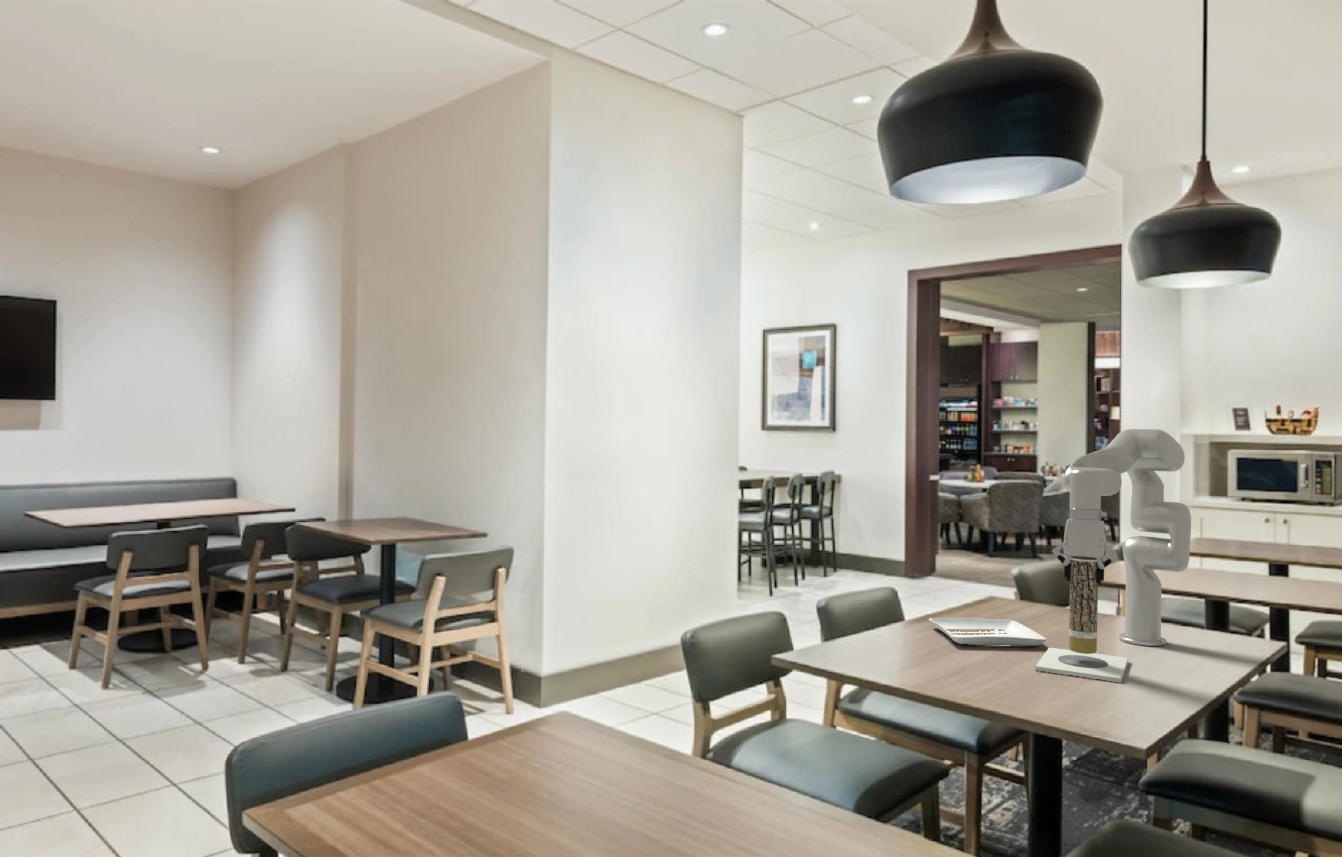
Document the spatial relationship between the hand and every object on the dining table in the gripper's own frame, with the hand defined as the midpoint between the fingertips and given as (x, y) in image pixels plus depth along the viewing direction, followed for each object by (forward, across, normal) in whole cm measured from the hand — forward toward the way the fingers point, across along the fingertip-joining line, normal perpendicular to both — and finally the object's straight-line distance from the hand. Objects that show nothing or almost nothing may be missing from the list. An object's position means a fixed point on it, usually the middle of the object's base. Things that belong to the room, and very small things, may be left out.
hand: (1083, 581), depth 236 cm
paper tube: (+19, 0, 0) cm, 19 cm away
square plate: (+23, +29, -19) cm, 42 cm away
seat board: (+23, 0, 0) cm, 23 cm away
